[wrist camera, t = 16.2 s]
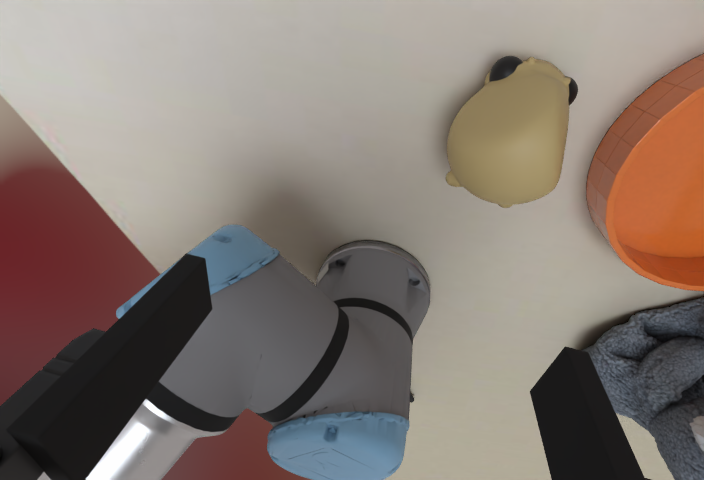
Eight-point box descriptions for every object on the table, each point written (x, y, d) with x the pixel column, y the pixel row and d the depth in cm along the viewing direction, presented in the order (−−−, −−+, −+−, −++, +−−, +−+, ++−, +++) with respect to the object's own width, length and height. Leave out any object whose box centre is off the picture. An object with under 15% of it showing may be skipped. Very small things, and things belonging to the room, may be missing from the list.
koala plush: (743, 381, 44) (920, 594, 28) (582, 395, 51) (648, 571, 35) (748, 280, 36) (992, 490, 20) (559, 313, 44) (630, 488, 28)
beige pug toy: (538, 129, 36) (637, 58, 25) (508, 233, 33) (605, 202, 23) (453, 89, 35) (519, -1, 24) (415, 192, 32) (471, 141, 22)
